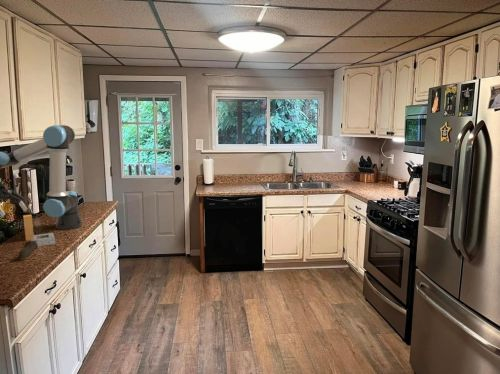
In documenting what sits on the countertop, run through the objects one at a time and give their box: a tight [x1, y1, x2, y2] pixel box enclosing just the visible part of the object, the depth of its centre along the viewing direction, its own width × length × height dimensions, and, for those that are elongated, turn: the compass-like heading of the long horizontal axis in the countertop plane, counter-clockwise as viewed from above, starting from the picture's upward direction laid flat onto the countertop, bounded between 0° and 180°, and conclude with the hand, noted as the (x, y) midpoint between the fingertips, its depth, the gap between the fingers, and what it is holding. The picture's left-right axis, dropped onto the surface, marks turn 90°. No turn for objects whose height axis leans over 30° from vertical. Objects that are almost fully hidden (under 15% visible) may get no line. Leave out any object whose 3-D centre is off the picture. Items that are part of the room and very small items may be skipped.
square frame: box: [30, 232, 56, 247], centre depth 210 cm, size 11×11×4 cm
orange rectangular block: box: [22, 214, 35, 242], centre depth 215 cm, size 4×4×14 cm
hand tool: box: [18, 242, 38, 262], centre depth 191 cm, size 19×4×5 cm, turn 10°
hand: (15, 213), depth 217 cm, fingers open, 13 cm apart
